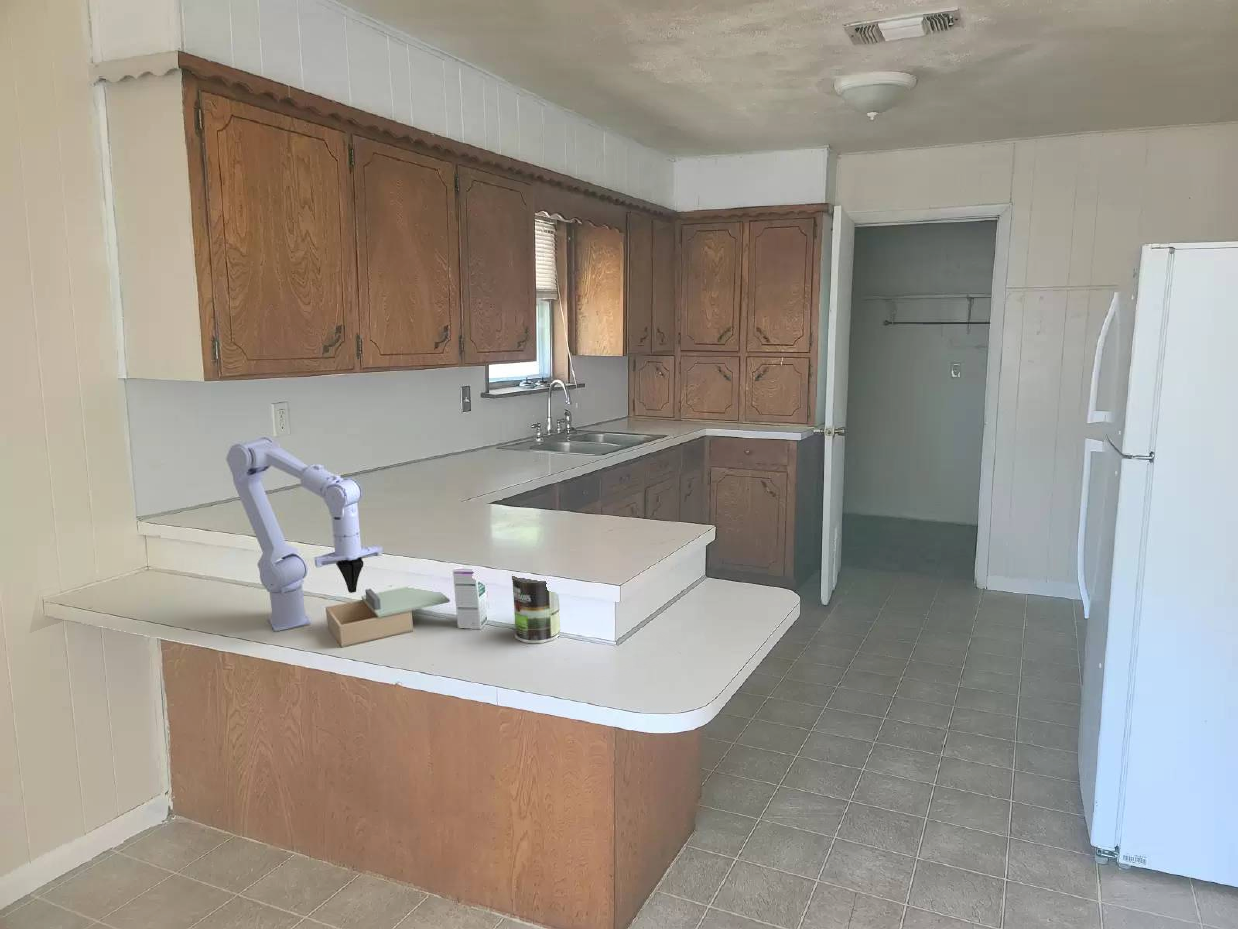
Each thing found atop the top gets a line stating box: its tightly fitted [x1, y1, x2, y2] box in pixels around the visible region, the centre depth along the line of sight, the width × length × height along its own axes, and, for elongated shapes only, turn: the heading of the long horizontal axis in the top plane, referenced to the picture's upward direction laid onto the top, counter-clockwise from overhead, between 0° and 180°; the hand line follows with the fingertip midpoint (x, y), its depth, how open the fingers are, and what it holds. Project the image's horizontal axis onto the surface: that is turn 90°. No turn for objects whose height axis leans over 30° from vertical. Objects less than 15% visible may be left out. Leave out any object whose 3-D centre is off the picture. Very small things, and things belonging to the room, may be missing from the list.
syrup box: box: [452, 566, 488, 630], centre depth 201 cm, size 6×6×14 cm
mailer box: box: [325, 599, 414, 648], centre depth 201 cm, size 14×16×5 cm
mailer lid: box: [361, 586, 451, 618], centre depth 204 cm, size 15×17×3 cm
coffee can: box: [511, 575, 561, 644], centre depth 194 cm, size 10×10×14 cm
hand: (352, 591), depth 198 cm, fingers closed
